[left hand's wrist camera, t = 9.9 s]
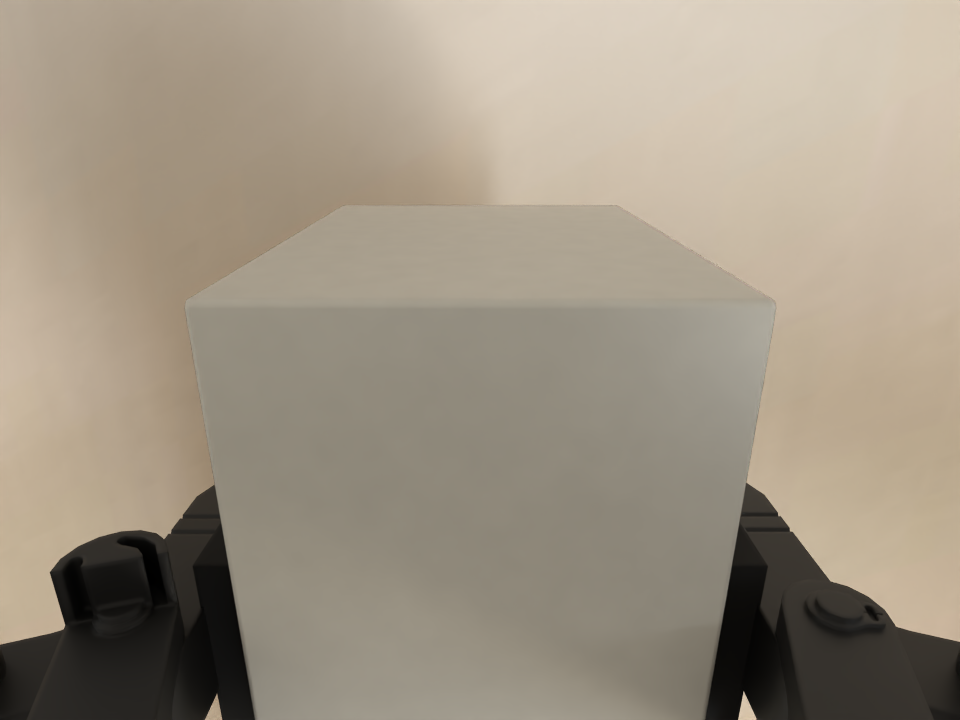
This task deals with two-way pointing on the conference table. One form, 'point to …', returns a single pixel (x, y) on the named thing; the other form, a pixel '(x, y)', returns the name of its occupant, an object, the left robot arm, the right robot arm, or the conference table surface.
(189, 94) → the conference table surface
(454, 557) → the plank
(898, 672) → the left robot arm
